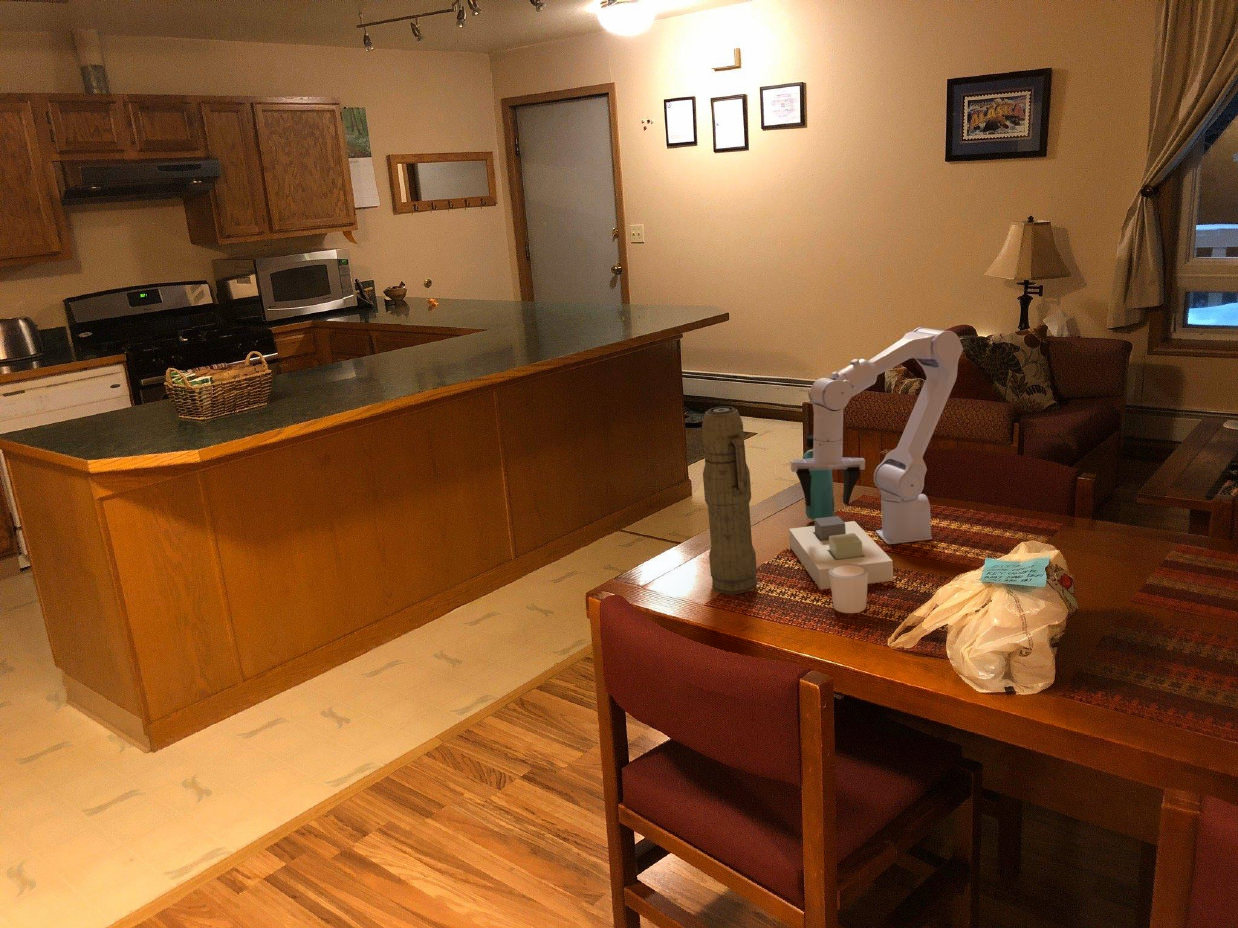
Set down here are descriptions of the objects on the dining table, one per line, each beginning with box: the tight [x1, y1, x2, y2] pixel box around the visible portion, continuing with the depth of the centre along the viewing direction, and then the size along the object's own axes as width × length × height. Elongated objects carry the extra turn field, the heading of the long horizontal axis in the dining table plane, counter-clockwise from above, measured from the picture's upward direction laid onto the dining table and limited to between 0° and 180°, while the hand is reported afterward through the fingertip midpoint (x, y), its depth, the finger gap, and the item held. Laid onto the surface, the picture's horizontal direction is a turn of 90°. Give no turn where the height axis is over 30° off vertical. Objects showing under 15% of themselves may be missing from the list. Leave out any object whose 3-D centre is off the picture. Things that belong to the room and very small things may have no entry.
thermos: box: [701, 406, 758, 595], centre depth 185 cm, size 9×12×35 cm
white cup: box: [829, 564, 868, 614], centre depth 174 cm, size 7×7×7 cm
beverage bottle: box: [802, 434, 836, 521], centre depth 217 cm, size 6×7×20 cm
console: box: [788, 520, 894, 590], centre depth 195 cm, size 14×24×4 cm, turn 4°
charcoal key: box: [813, 515, 846, 540], centre depth 199 cm, size 5×5×3 cm
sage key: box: [829, 533, 862, 559], centre depth 188 cm, size 5×5×3 cm
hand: (826, 504), depth 198 cm, fingers open, 7 cm apart
